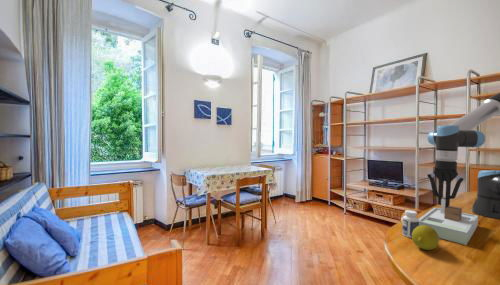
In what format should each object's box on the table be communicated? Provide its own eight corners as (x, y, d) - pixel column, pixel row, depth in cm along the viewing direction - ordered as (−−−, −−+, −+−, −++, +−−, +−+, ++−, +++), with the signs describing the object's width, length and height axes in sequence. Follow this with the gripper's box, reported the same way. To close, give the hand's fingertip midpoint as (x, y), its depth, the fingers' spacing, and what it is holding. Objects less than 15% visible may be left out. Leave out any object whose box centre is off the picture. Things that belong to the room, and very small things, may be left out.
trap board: (433, 216, 121) (434, 207, 121) (477, 225, 109) (478, 215, 109) (415, 231, 102) (416, 220, 102) (466, 245, 90) (466, 232, 90)
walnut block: (446, 215, 110) (447, 205, 110) (461, 219, 106) (461, 207, 106) (444, 218, 107) (444, 207, 107) (459, 221, 103) (459, 210, 103)
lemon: (431, 256, 81) (432, 233, 80) (405, 247, 87) (406, 225, 87) (444, 248, 87) (445, 226, 86) (419, 240, 93) (420, 219, 93)
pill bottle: (419, 235, 98) (420, 211, 97) (416, 239, 94) (418, 214, 93) (403, 231, 101) (404, 208, 101) (400, 235, 97) (401, 211, 97)
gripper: (425, 159, 110) (423, 210, 111) (463, 162, 100) (460, 218, 101) (430, 158, 115) (428, 207, 116) (467, 161, 105) (464, 215, 106)
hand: (443, 212), depth 108 cm, fingers closed
